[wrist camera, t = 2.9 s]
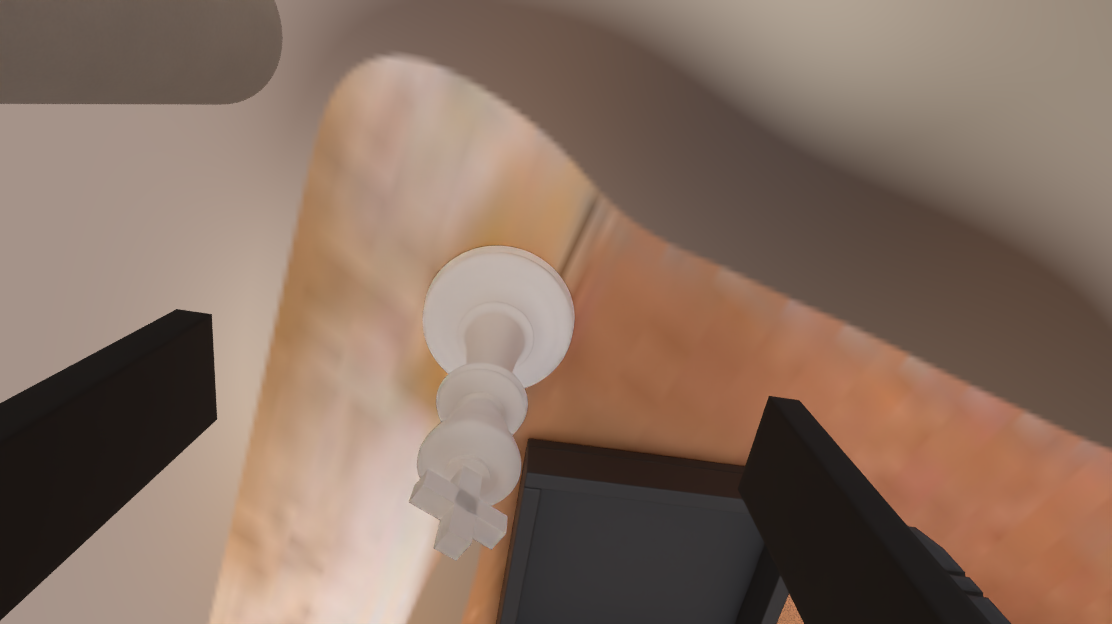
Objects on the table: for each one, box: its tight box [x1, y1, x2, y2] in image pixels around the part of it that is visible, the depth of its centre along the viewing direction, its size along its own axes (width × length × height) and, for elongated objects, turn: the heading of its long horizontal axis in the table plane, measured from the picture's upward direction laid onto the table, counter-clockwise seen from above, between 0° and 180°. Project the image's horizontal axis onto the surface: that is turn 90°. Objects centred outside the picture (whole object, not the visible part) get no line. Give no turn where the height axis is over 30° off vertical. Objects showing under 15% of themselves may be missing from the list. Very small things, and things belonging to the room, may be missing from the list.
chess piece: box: [409, 245, 575, 560], centre depth 13 cm, size 5×5×10 cm
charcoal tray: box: [496, 439, 789, 624], centre depth 21 cm, size 10×10×2 cm
